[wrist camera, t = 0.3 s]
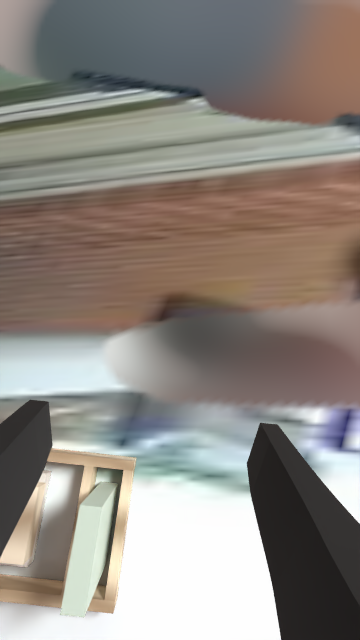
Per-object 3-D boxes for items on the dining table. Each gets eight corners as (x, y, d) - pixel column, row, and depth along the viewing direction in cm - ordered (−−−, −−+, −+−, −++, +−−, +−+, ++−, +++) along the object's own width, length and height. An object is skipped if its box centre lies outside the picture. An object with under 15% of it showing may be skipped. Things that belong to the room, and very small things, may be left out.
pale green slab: (106, 563, 33) (84, 617, 25) (88, 561, 33) (59, 614, 25) (118, 483, 35) (101, 507, 27) (101, 481, 35) (79, 505, 27)
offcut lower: (35, 558, 33) (27, 567, 32) (0, 554, 33) (-11, 563, 32) (53, 470, 36) (46, 473, 34) (19, 466, 36) (11, 470, 34)
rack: (117, 598, 32) (113, 613, 30) (-29, 582, 32) (-45, 596, 30) (136, 457, 36) (134, 461, 34) (6, 443, 36) (-5, 445, 34)
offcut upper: (32, 555, 32) (23, 565, 30) (-6, 552, 32) (-17, 561, 30) (46, 482, 34) (38, 487, 32) (10, 479, 34) (1, 483, 32)
